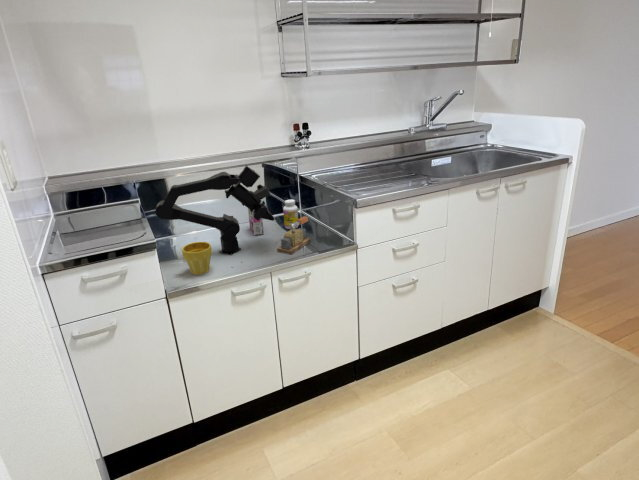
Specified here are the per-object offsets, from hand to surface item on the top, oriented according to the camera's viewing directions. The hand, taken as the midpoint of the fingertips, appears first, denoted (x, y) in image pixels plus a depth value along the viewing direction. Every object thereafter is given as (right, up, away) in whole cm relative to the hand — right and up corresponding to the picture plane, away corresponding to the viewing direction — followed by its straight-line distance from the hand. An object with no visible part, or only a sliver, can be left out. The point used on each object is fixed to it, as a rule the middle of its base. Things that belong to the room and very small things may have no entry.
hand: (273, 219), depth 169 cm
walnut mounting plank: (+9, -11, +1) cm, 14 cm away
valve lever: (+10, -2, +2) cm, 11 cm away
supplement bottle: (+6, -3, +23) cm, 24 cm away
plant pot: (-25, -20, -16) cm, 36 cm away
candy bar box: (-10, -5, +20) cm, 23 cm away
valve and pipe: (+9, -10, +1) cm, 13 cm away
